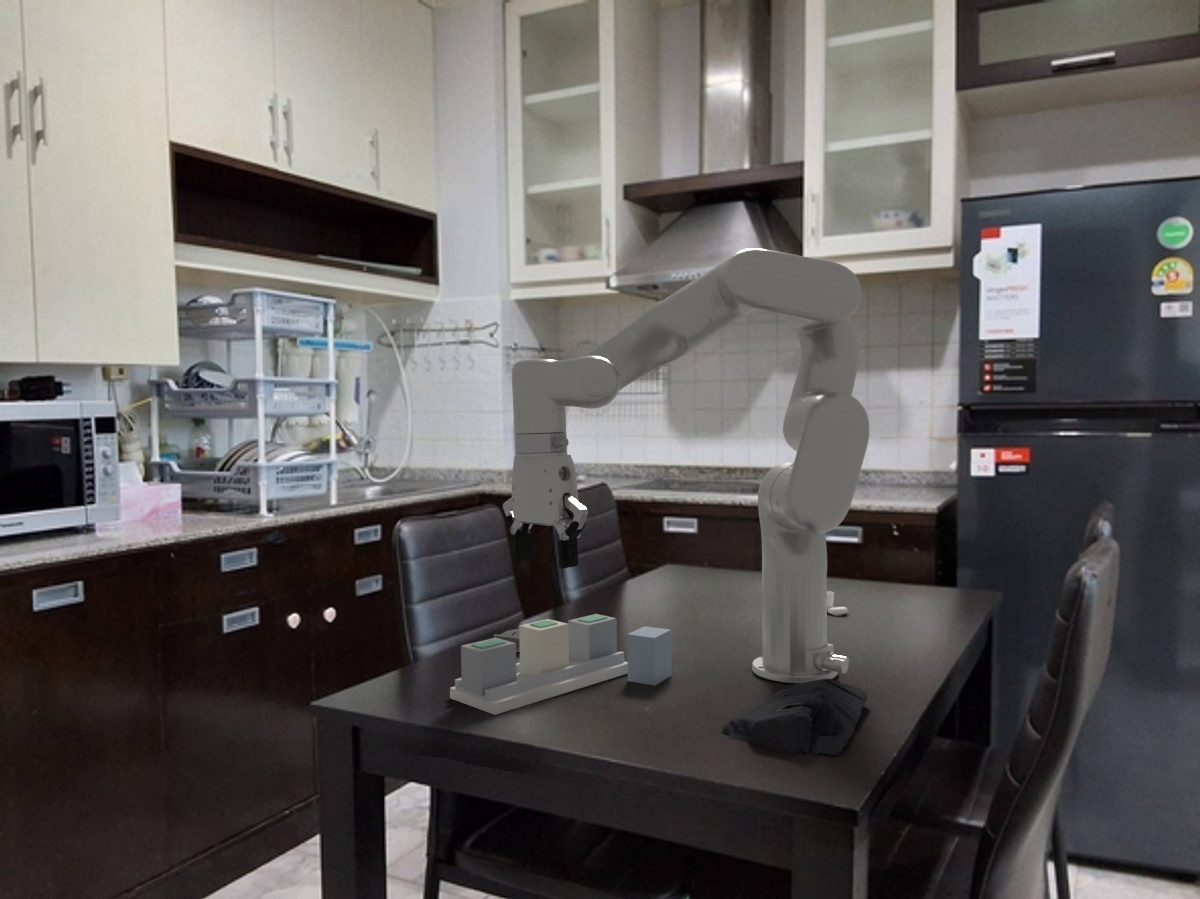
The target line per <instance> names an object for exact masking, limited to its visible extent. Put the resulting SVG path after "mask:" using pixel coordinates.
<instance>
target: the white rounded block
mask: <svg viewBox="0 0 1200 899" xmlns="http://www.w3.org/2000/svg"><path fill="white" fill-rule="evenodd" d="M834 598H835V593H834V592H833V591H831V590H830V591H829V590H827V611H828V612H827V613H828V614H829V613H830V614H834V616H839V615H838V614H843V615H845V613H846V614H847V613H848V611H849V609H848V608H847V607H845V606H834V600H835V599H834Z"/></svg>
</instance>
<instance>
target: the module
mask: <svg viewBox="0 0 1200 899" xmlns="http://www.w3.org/2000/svg"><path fill="white" fill-rule="evenodd" d="M626 644H627V648H626V652H627V662H628V674H627V682H632V683H638V684H642V685H643V684H644V685H649V686H657V685H658V684H660V683H661V682H664V681H665V680H667V679H669V678H670V677H672V676H673V673H672V672H673V671H672V670H673V669H672V668H673V667H672V665H673V664H672V663H673V662H672V660H673V659H672V657H673V656H672V629H668V628H660V627H653V626H641V627H639V628H638V629H636V630H633V631H631V632H629V633H627V643H626Z"/></svg>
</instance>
